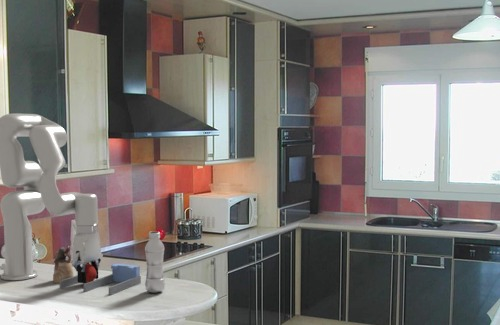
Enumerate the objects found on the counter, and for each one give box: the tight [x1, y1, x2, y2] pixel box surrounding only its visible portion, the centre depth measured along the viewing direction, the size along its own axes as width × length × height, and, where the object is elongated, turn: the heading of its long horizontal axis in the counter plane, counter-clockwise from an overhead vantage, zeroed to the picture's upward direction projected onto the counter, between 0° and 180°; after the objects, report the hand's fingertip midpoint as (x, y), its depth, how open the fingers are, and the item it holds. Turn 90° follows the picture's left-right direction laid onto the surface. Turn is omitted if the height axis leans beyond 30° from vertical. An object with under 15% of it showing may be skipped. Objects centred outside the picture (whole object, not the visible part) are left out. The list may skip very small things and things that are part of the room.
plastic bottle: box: [144, 231, 166, 294], centre depth 201 cm, size 6×7×20 cm
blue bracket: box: [110, 263, 141, 283], centre depth 214 cm, size 10×4×6 cm, turn 65°
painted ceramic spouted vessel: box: [52, 246, 75, 284], centre depth 218 cm, size 7×7×12 cm
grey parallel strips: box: [59, 273, 142, 296], centre depth 211 cm, size 21×17×2 cm
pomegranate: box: [85, 262, 97, 284], centre depth 212 cm, size 6×6×8 cm
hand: (88, 280), depth 212 cm, fingers closed on pomegranate, 5 cm apart
